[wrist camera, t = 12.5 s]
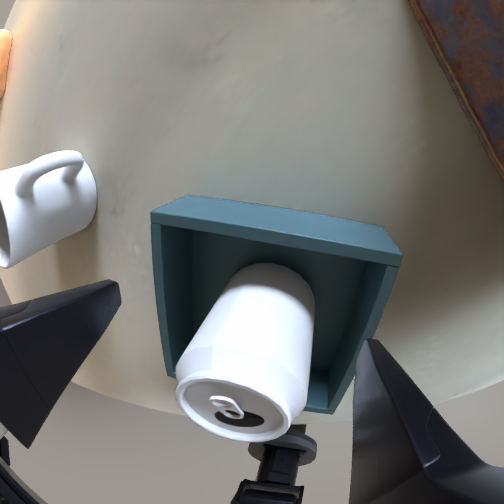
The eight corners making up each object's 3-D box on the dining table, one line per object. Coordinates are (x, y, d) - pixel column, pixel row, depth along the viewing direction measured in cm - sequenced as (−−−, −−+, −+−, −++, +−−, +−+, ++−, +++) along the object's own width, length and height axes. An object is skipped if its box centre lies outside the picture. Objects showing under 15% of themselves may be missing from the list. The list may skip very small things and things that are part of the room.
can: (243, 337, 25) (197, 443, 14) (216, 267, 23) (137, 366, 12) (322, 327, 23) (312, 450, 12) (304, 249, 20) (284, 367, 10)
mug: (74, 242, 27) (3, 283, 17) (45, 184, 25) (-27, 210, 15) (130, 184, 22) (33, 219, 12) (94, 115, 20) (-1, 123, 11)
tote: (334, 372, 25) (332, 414, 20) (189, 341, 28) (166, 375, 23) (383, 226, 19) (403, 254, 14) (187, 194, 21) (150, 211, 16)
